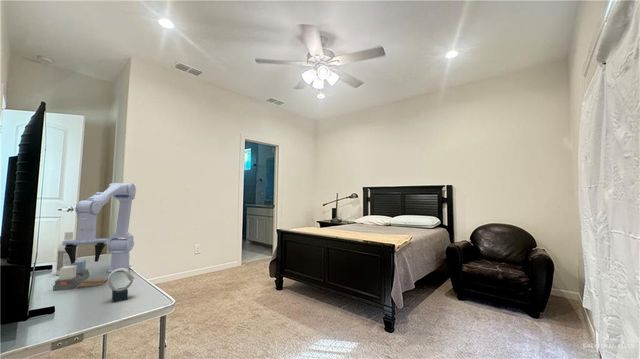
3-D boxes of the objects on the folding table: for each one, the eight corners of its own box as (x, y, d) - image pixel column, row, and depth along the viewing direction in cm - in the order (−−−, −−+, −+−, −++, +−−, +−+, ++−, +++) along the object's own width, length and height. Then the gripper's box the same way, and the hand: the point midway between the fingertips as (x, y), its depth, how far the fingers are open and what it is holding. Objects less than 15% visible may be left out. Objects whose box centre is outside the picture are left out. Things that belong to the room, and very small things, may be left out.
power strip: (78, 273, 127) (78, 266, 127) (93, 272, 129) (94, 265, 129) (52, 290, 105) (53, 281, 105) (72, 288, 107) (73, 280, 108)
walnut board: (86, 281, 117) (86, 279, 117) (108, 279, 120) (108, 277, 120) (77, 287, 109) (77, 286, 109) (102, 285, 112) (102, 284, 112)
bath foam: (59, 272, 128) (62, 231, 129) (78, 271, 131) (80, 230, 132) (53, 276, 122) (56, 233, 123) (73, 274, 125) (76, 232, 126)
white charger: (63, 280, 111) (64, 266, 111) (75, 279, 113) (76, 265, 113) (58, 283, 107) (59, 268, 108) (71, 282, 109) (72, 267, 109)
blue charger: (73, 274, 120) (74, 260, 120) (85, 273, 122) (85, 259, 122) (69, 276, 116) (70, 262, 117) (81, 275, 118) (82, 261, 118)
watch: (133, 298, 99) (135, 268, 100) (106, 303, 94) (108, 272, 94) (132, 293, 103) (133, 265, 104) (105, 299, 98) (107, 268, 99)
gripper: (59, 231, 104) (57, 266, 103) (105, 229, 110) (103, 262, 109) (67, 229, 110) (65, 262, 110) (110, 227, 117) (108, 258, 116)
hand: (84, 262), depth 110 cm, fingers open, 7 cm apart
